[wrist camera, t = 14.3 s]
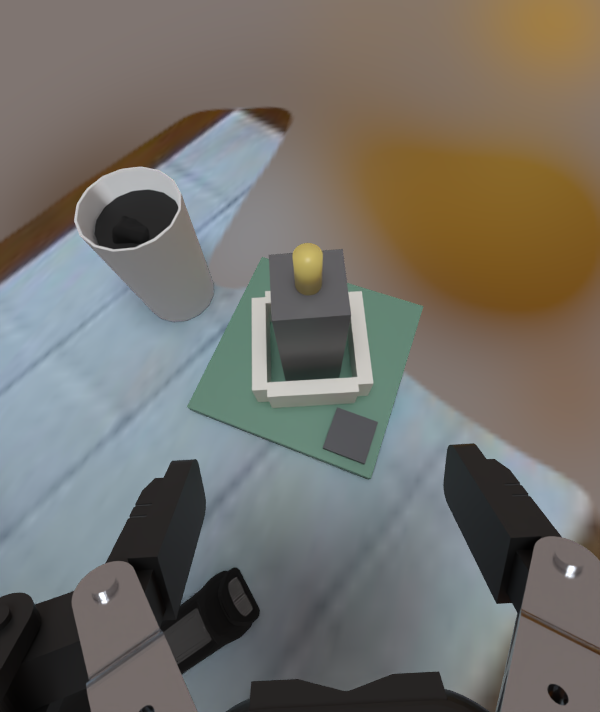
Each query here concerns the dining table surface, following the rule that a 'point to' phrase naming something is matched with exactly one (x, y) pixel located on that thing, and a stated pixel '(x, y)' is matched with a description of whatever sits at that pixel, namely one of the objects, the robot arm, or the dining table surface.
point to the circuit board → (322, 422)
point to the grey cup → (147, 240)
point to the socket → (310, 389)
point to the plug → (310, 311)
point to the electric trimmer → (199, 626)
